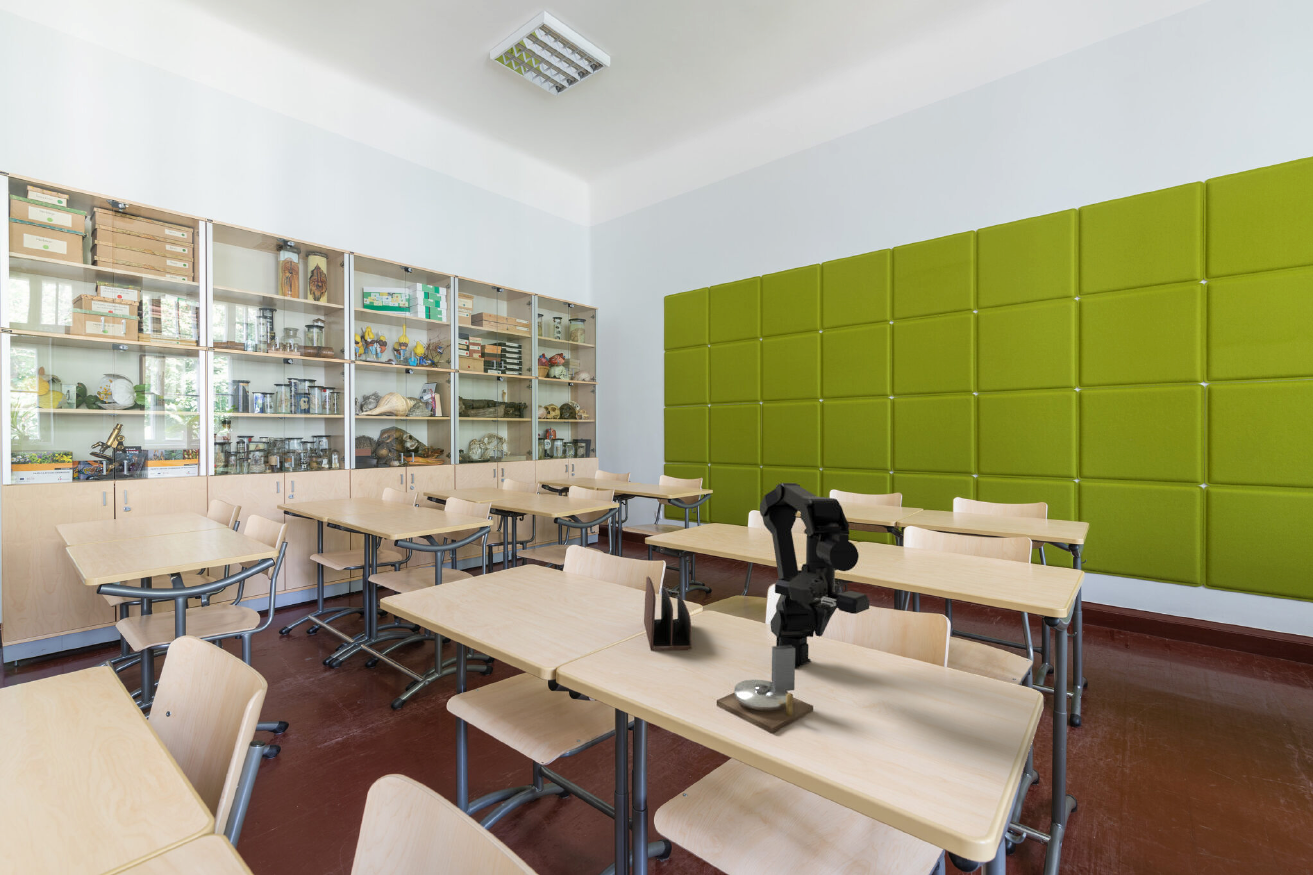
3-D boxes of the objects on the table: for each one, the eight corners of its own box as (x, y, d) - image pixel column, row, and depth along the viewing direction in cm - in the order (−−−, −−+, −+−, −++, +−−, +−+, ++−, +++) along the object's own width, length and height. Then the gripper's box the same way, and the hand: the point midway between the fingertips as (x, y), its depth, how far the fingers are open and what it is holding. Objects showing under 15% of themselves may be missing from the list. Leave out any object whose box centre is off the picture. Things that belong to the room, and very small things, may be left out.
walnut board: (716, 705, 104) (717, 681, 104) (757, 686, 113) (758, 664, 113) (772, 733, 95) (772, 707, 95) (813, 711, 103) (813, 686, 103)
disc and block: (747, 712, 98) (748, 661, 98) (726, 688, 107) (727, 641, 107) (805, 706, 100) (806, 656, 100) (780, 683, 110) (781, 637, 110)
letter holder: (650, 651, 131) (651, 592, 131) (643, 623, 151) (644, 572, 151) (691, 650, 132) (692, 592, 132) (679, 623, 152) (680, 572, 152)
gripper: (759, 556, 114) (757, 631, 114) (841, 574, 100) (839, 659, 100) (790, 550, 121) (789, 620, 121) (871, 566, 107) (869, 645, 107)
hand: (819, 635), depth 112 cm, fingers closed
